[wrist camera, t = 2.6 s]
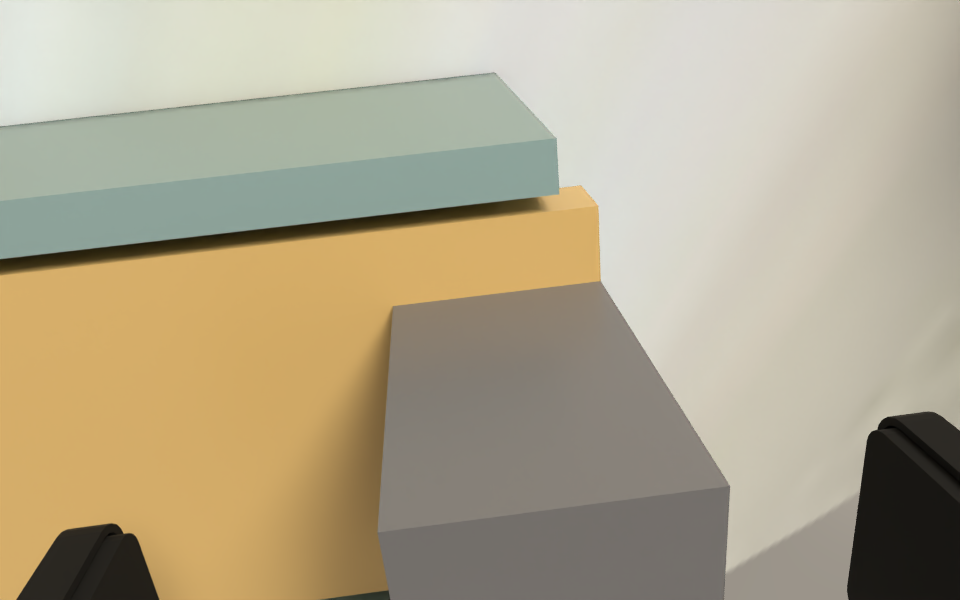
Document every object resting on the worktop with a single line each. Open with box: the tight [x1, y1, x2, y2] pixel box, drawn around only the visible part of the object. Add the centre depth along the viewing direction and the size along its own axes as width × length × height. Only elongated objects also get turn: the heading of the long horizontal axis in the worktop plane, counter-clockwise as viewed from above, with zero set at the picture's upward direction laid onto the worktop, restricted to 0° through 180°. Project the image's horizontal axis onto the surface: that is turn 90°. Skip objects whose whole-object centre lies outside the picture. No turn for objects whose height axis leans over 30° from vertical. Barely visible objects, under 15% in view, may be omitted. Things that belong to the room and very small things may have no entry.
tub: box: [0, 73, 559, 600], centre depth 15 cm, size 14×9×8 cm, turn 95°
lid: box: [0, 186, 730, 600], centre depth 10 cm, size 13×7×6 cm, turn 95°
